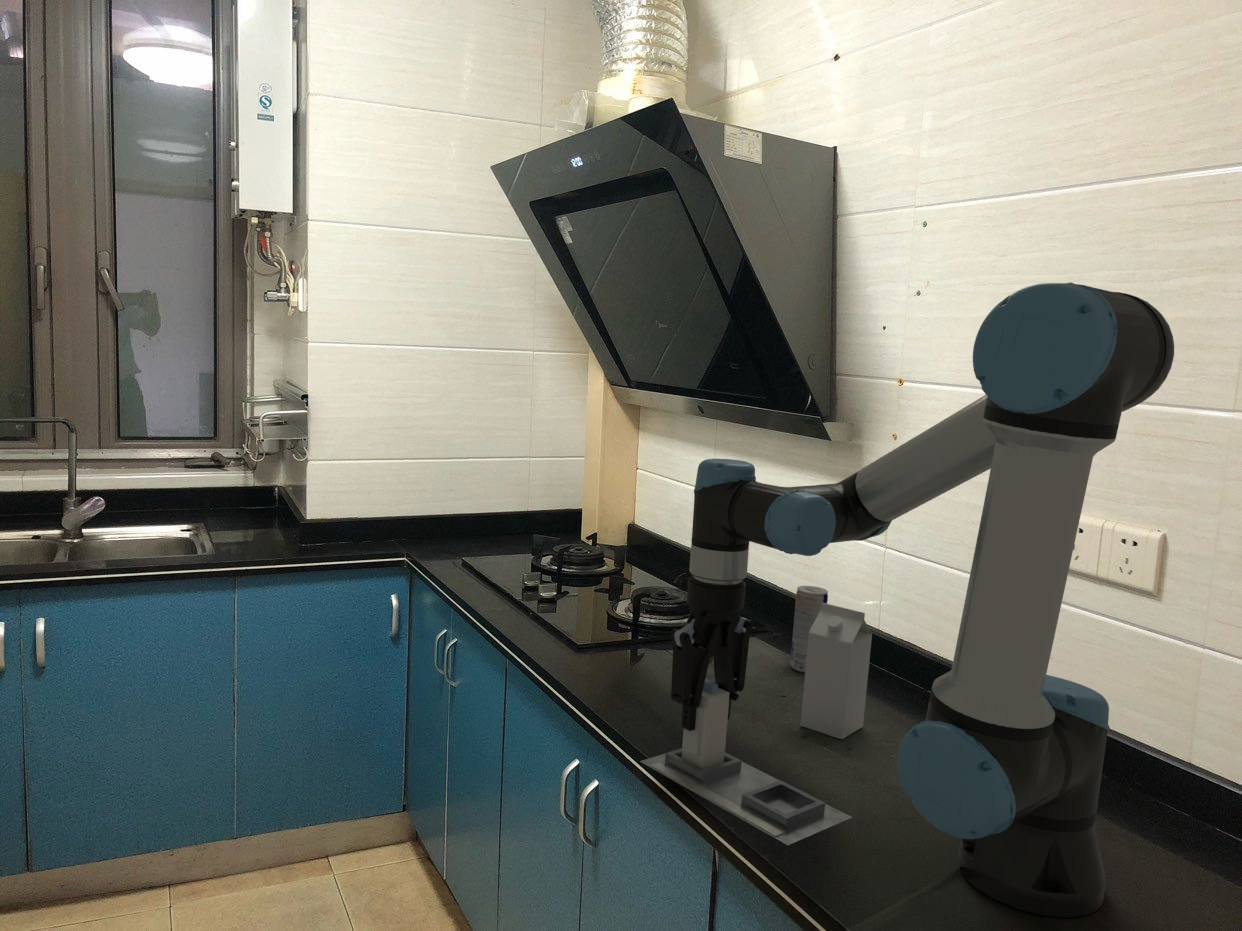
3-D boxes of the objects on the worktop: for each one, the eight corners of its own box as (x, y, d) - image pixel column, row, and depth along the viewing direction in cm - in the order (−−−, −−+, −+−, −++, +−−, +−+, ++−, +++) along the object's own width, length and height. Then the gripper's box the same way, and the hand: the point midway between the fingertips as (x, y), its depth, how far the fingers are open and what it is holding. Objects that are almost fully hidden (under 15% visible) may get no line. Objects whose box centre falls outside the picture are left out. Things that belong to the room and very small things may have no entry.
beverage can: (821, 676, 172) (828, 594, 170) (789, 672, 173) (796, 590, 171) (821, 666, 178) (828, 586, 176) (790, 662, 179) (797, 583, 177)
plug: (723, 764, 129) (730, 683, 128) (702, 771, 126) (708, 689, 125) (702, 753, 132) (708, 674, 131) (681, 760, 130) (687, 679, 128)
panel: (851, 824, 118) (853, 805, 118) (787, 853, 110) (789, 832, 110) (702, 748, 138) (703, 731, 138) (639, 768, 130) (640, 750, 130)
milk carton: (821, 714, 154) (832, 598, 151) (863, 728, 149) (874, 608, 147) (799, 726, 148) (810, 606, 146) (842, 740, 144) (854, 617, 141)
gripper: (741, 564, 134) (728, 724, 137) (649, 577, 123) (637, 751, 126) (782, 576, 129) (767, 743, 132) (690, 591, 118) (676, 773, 121)
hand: (703, 747), depth 129 cm, fingers closed on plug, 4 cm apart
